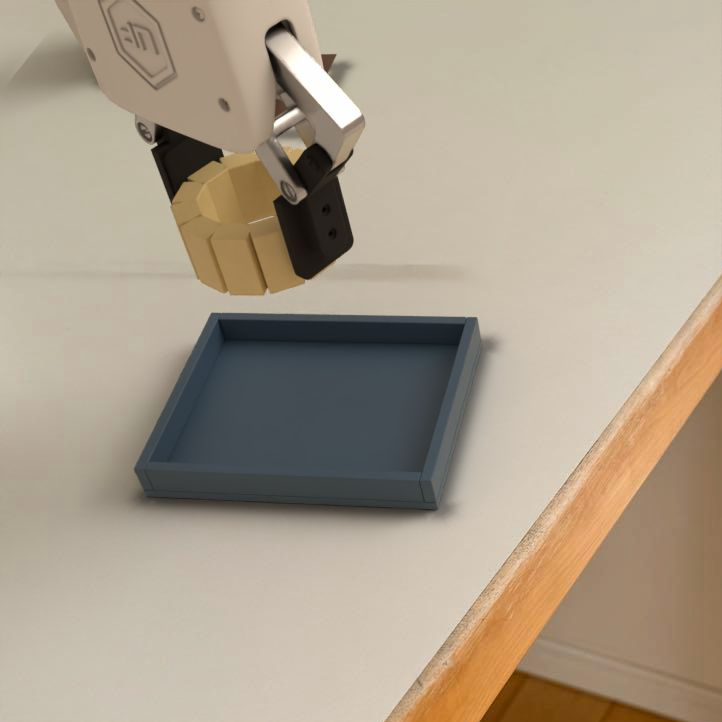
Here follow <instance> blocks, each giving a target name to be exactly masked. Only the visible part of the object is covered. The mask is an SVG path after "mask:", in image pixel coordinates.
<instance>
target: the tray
mask: <svg viewBox="0 0 722 722" xmlns="http://www.w3.org/2000/svg"><path fill="white" fill-rule="evenodd" d="M482 348H483V341H482V336H481V330H480V325H479V319H478V317H477V316H439V315H438V316H436V315H384V314H383V315H382V314H381V315H378V314H375V315H374V314H325V313H324V314H323V313H321V314H320V313H319V314H318V313H317V314H316V313H266V312H263V313H261V312H211V313H210V314H209V316H208V318H207V321H206V323H205V324H204V327H203V329H202V331H201V333H200V334H199V336H198V338H197V341H196V342H195V344H194V346H193V348H192V350H191V352H190V354H189V357H188V358H187V361H186V362H185V365H184V367H183V368H182V371H181V373H180V375H179V376H178V378H177V381H176V383H175V385H174V386H173V390H172V391H171V393H170V395H169V397H168V399H167V401H166V403H165V405H164V407H163V409H162V411H161V412H160V415H159V417H158V419H157V421H156V423H155V426H154V427H153V429H152V431H151V433H150V435H149V437H148V439H147V441H146V444H145V445H144V447H143V449H142V451H141V454H140V455H139V457H138V460H137V462H136V463H135V465H134V468H133V471H134V473H135V475H136V477H137V479H138V481H139V483H140V485H141V488H142V489H143V492H144V494H145V496H146V497H149V498H167V499H168V498H169V499H170V498H172V499H193V500H195V499H196V500H217V501H219V500H220V501H237V502H260V503H261V502H262V503H281V504H304V505H305V504H307V505H326V506H327V505H328V506H350V507H351V506H352V507H370V508H373V507H374V508H394V509H395V508H396V509H415V510H416V509H417V510H418V509H419V510H439V507H440V503H441V499H442V495H443V492H444V488H445V485H446V481H447V477H448V473H449V470H450V467H451V466H450V465H451V462H452V458H453V455H454V451H455V448H456V444H457V440H458V436H459V433H460V429H461V426H462V421H463V419H464V415H465V414H464V413H465V411H466V407H467V403H468V400H469V395H470V392H471V389H472V385H473V380H474V377H475V374H476V370H477V366H478V364H479V359H480V356H481V352H482Z"/></svg>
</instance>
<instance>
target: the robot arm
mask: <svg viewBox="0 0 722 722" xmlns="http://www.w3.org/2000/svg"><path fill="white" fill-rule="evenodd" d="M68 2H69V5H70V8H71V11H72V14H73V17H74V20H75V23H76V26H77V29H78V32H79V34H80V37H81V40H82V43H83V46H84V48H85V51H86V53H85V54H86V56H87V59H88V62H89V64H90V67H91V70H92V72H93V74H94V78H95V80H96V82H97V85H98V86H99V89H100V91H101V92H102V94H103V95H104V96H105V97H106V98H107V99H108V100H109V101H110V102H111V103H113V105H116V106H117V107H118V108H120V109H122V110H124V111H126V112H128V113H131V114H132V115H134V126H135V129H136V132H137V134H138V135H139V136H140V138H141V139H142V140H143V142H145V143H146V144H148V145H149V146H152V145H154V144H156V146H155V145H154V146H153V147H152V148H151V149H150V152H151V155H152V158H153V160H154V163H155V165H156V168H157V171H158V173H159V176H160V178H161V181H162V184H163V186H164V190H165V192H166V194H167V197H168V199H169V202H170V206H172V200H173V199H174V197H175V195H176V194H177V192H178V190H179V188H180V187H181V185H182V183H183V182H188V179H187V178H188V177H189V176H191V175H192V174H194V173H195V172H197V171H198V170H200V169H201V168H203V167H204V166H206V165H207V164H209V163H210V162H212V161H215V162H218V163H220V161H219V159H220V158H221V157H225V154H224V152H223V151H225V152H228V153H232V154H235V153H237V154H249V153H252V152H253V151H254V152H255V154H257V156H258V158H259V159H260V161H261V162H262V164H263V166H264V167H265V169H266V170H267V172H268V174H269V175H270V177H271V179H272V180H273V182H274V183H275V185H276V187H277V188H278V190H279V191H280V193H281V195H280V196H279V197H277V198H276V199H275V200H274V201H273V204H274V208H275V211H276V214H277V217H278V221H279V224H280V227H281V230H282V234H283V237H284V240H285V243H286V247H287V250H288V253H289V257H290V260H291V263H292V266H293V269H294V272H295V274H296V275H297V276H298V277H301V278H303V279H305V281H311V280H310V279H311V278H313V277H314V276H315V275H317V274H318V273H319V272H321V271H322V270H323V269H325V268H326V267H327V266H329V265H330V264H331V263H333V262H334V261H335V260H336V261H337V260H338V259H340V258H341V257H342V256H343V255H345V254H346V253H348V251H350V250H351V249H352V247H354V242H355V238H354V233H353V230H352V227H351V223H350V219H349V215H348V211H347V207H346V203H345V199H344V196H343V191H342V187H341V183H340V180H339V175H341V174H342V173H343V172H345V169H346V164H347V163H348V162H349V160H350V159H351V158H352V157H353V155H354V150H355V149H354V148H355V147H356V145H357V144H358V141H359V139H360V137H361V135H362V134H363V131H364V130H365V127H366V119H365V116H364V114H363V113H362V112H361V111H362V110H360V109H359V107H357V105H356V104H355V103H354V102H353V101H352V100H351V99H350V98H349V96H348V95H347V94H346V93H345V92H344V91H343V89H342V88H341V87H340V86H339V85H338V84H337V83H336V82H335V81H334V80H333V79H332V77H331V76H330V75H329V74H328V73H326V72H325V71H324V68H323V63H322V57H321V54H322V52H321V48H320V45H319V40H318V36H317V32H316V28H315V24H314V22H313V18H312V14H311V10H310V7H309V3H308V0H68ZM276 99H279V100H281V101H283V103H284V105H285V106H286V108H287V110H285V111H284V112H282V113H281V114H279V115H278V116H276V117H275V104H276ZM293 127H294V129H295V131H296V132H297V134H298V135H299V136H298V137H300V139H301V141H302V142H303V144H304V146H305V149H303V150H304V151H303V153H302V154H301V156H300V157H299V158H298V160H297V161H296V163H295V164H294V165H293V164H292V162H291V161H290V159H289V158H288V156H287V154H286V153H285V151H284V149H283V148H282V147H283V146H282V144H281V143H280V141H279V140H278V138H279V137H280V136H282V135H283V134H285V133H286V132H288V131H289V130H290V129H293ZM339 257H340V258H339Z"/></svg>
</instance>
